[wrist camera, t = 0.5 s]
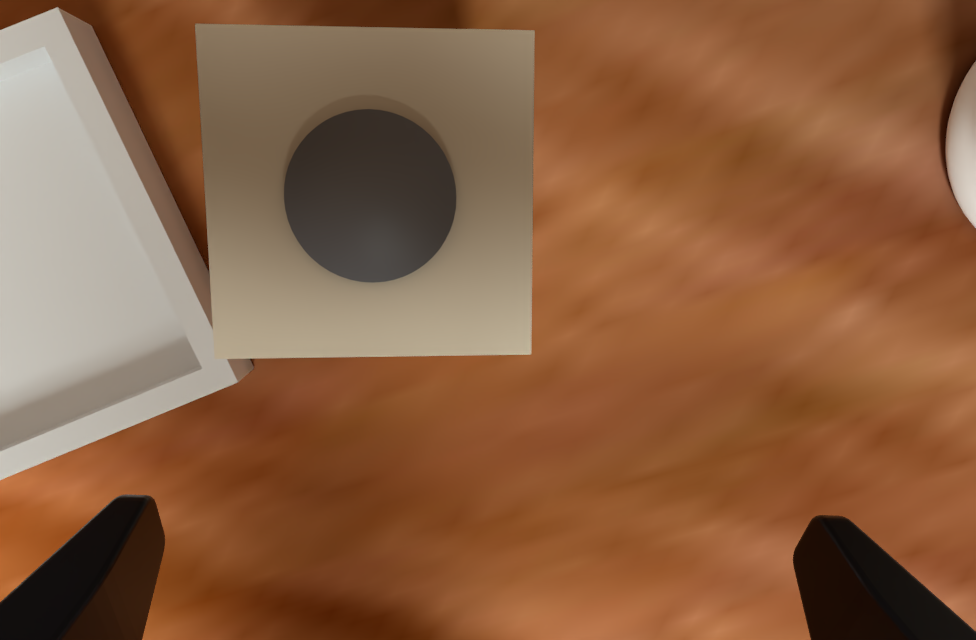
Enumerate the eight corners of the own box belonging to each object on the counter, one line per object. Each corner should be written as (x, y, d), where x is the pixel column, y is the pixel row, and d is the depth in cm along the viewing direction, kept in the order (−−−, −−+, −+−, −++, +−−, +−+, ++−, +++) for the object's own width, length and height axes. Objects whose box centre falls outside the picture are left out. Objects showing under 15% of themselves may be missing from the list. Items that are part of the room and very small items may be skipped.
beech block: (480, 280, 24) (532, 356, 11) (329, 281, 23) (212, 361, 11) (480, 126, 23) (535, 27, 11) (324, 124, 23) (191, 20, 10)
